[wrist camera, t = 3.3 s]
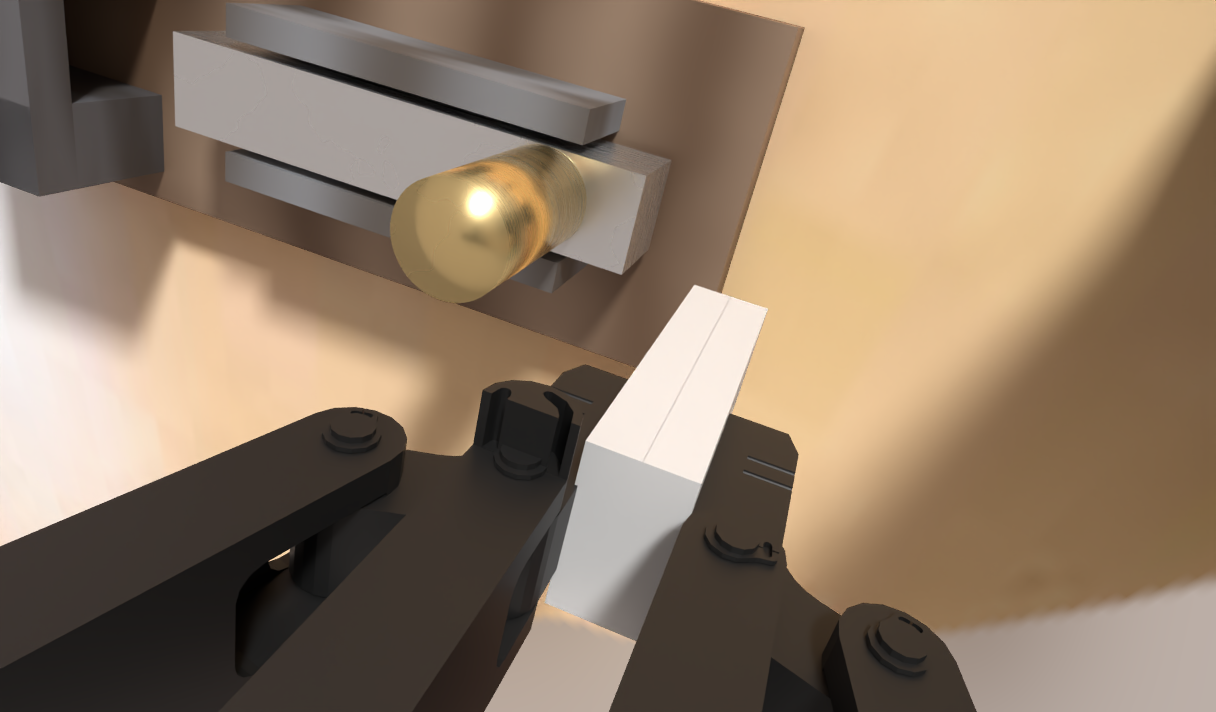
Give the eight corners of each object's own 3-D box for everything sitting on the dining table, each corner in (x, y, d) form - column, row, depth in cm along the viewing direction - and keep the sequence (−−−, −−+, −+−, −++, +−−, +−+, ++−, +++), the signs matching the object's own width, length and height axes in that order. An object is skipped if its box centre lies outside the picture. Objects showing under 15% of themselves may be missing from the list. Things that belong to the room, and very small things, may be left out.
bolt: (671, 160, 24) (578, 218, 17) (648, 249, 26) (553, 340, 18) (241, 30, 27) (0, 31, 20) (240, 117, 29) (14, 148, 21)
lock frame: (804, 27, 24) (776, 27, 18) (698, 364, 29) (648, 458, 23) (36, -171, 30) (-197, -226, 23) (63, 142, 35) (-120, 168, 29)
